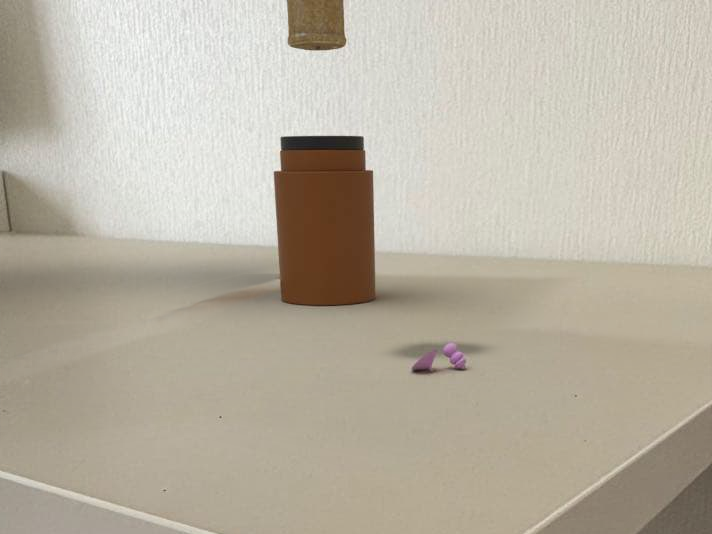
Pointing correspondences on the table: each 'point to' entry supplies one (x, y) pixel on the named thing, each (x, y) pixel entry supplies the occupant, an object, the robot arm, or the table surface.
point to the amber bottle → (325, 221)
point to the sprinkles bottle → (316, 24)
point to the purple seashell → (448, 351)
